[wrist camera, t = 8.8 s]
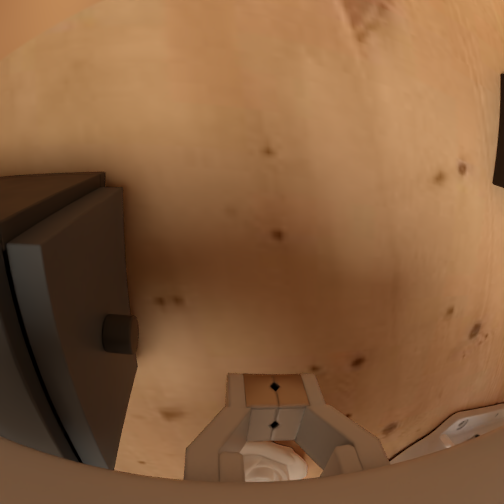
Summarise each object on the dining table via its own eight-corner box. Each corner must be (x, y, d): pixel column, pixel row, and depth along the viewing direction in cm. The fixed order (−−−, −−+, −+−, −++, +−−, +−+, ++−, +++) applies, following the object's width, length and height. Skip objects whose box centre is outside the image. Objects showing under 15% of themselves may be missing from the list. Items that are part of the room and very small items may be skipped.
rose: (201, 525, 21) (175, 483, 17) (200, 488, 25) (178, 436, 21) (310, 513, 21) (321, 468, 18) (301, 477, 26) (307, 423, 22)
